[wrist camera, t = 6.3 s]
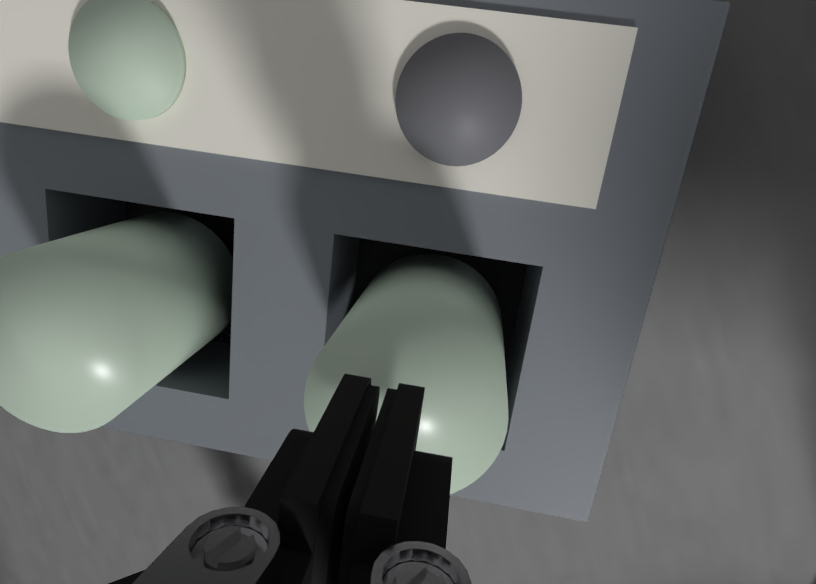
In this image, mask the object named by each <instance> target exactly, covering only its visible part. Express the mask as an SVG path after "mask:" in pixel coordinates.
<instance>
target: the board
mask: <svg viewBox="0 0 816 584" xmlns="http://www.w3.org/2000/svg"><path fill="white" fill-rule="evenodd" d="M730 5H731V2H725V1H716V0H0V256H1V255H4V254H7V253H11V252H14V251H18V250H21V249H25V248H28V247H32V246H35V245H39V244H43V243H46V242H50V241H53V240H57V239H60V238H64V237H67V236H71V235H74V234H78V233H82V232H85V231H89V230H92V229H96V228H99V227H103V226H106V225H110V224H113V223H117V222H121V221H124V220H127V207H126V201H127V202H133V203H140V204H146V205H153V206H159V207H165V208H172V209H178V210H184V211H191V212H197V213H204V214H210V215H216V216H223V217H229V218H235V220H234V251H233V283H232V314H231V344H230V343H224V342H219V341H213V340H211V341H210V342H208V343H207V344H206V345H205V346H203V347H202V348H201V349H200V350H198V351H197V352H196V353H195V354H193V355H192V356H191V357H190V358H188V359H187V360H186V361H185V362H183V363H182V364H181V365H180V366H178V367H177V368H176V369H175V370H173V371H172V372H171V373H170V374H168V375H167V376H166V377H165V378H163V379H162V380H161V381H160V382H158V383H157V384H156V385H155V386H153V387H152V388H151V389H150V390H149V391H147V392H146V393H145V394H144V395H142V396H141V397H140V398H139V399H137V400H136V401H135V402H134V403H132V404H131V405H130V406H129V407H127V408H126V409H125V410H124V411H122V412H121V413H120V414H119V415H117V416H116V417H115V418H114V419H112V420H111V421H109V422H108V423H106V424H105V425H103V426H100V427H103V428H108V429H113V430H118V431H123V432H129V433H134V434H139V435H144V436H149V437H154V438H159V439H164V440H169V441H175V442H180V443H185V444H190V445H195V446H200V447H205V448H210V449H215V450H220V451H226V452H231V453H236V454H241V455H246V456H251V457H256V458H261V459H266V460H273V458H274V457H275V455H276V453H277V452H278V450H279V448H280V447H281V445H282V443H283V442H284V440H285V438H286V437H287V435H288V433H289V432H290V431H291V429H299V430H305V431H309V429H308V425H307V422H306V418H305V411H304V391H305V385H306V380H307V377H308V374H309V371H310V369H311V367H312V365H313V363H314V361H315V359H316V358H317V356H318V355H319V353H320V352H321V350H322V349H323V347H324V346H325V345H326V343H327V342H328V340H329V339H330V338H331V336H332V335H333V333H334V332H335V331H336V329H337V328H338V326H339V325H340V324H341V322H342V321H343V320H344V318H345V317H346V315H347V314H348V313H349V311H350V310H351V308H352V307H353V306H354V296H355V286H356V277H357V267H358V257H359V248H360V238H363V239H370V240H376V241H382V242H389V243H395V244H401V245H408V246H414V247H421V248H427V249H433V250H440V251H446V252H452V253H459V254H465V255H472V256H478V257H484V258H491V259H497V260H503V261H510V262H516V263H523V264H527V268H526V273H525V278H524V283H523V288H522V293H521V297H520V302H519V307H518V312H517V317H516V322H515V327H514V332H513V337H512V342H511V347H510V352H509V357H508V362H507V367H506V383H507V397H508V427H507V433H506V437H505V440H504V444H503V446H502V448H501V450H500V452H499V454H498V456H497V457H496V459H495V461H494V462H493V464H492V465H491V466H490V467H489V468H488V470H487V471H486V472H485V473H484V474H483V475H482V476H480V477H479V478H478V479H477V480H476V481H475V482H473V483H472V484H470V485H468V486H467V487H465V488H463V489H461V490H459V491H457V492H455V493H453V494H450V496H455V497H460V498H466V499H471V500H476V501H481V502H486V503H491V504H496V505H501V506H506V507H511V508H517V509H522V510H527V511H532V512H537V513H542V514H547V515H552V516H557V517H563V518H568V519H573V520H578V521H583V522H588V519H589V515H590V511H591V508H592V504H593V501H594V497H595V493H596V490H597V486H598V483H599V479H600V475H601V472H602V468H603V464H604V461H605V457H606V454H607V450H608V446H609V443H610V439H611V435H612V432H613V428H614V425H615V421H616V417H617V414H618V410H619V407H620V403H621V399H622V396H623V392H624V388H625V385H626V381H627V378H628V374H629V370H630V367H631V363H632V360H633V356H634V352H635V349H636V345H637V341H638V338H639V334H640V331H641V327H642V323H643V320H644V316H645V312H646V309H647V305H648V302H649V298H650V294H651V291H652V287H653V284H654V280H655V276H656V273H657V269H658V265H659V262H660V258H661V255H662V251H663V247H664V244H665V240H666V236H667V233H668V229H669V226H670V222H671V218H672V215H673V211H674V208H675V204H676V200H677V197H678V193H679V189H680V186H681V182H682V179H683V175H684V171H685V168H686V164H687V160H688V157H689V153H690V150H691V146H692V142H693V139H694V135H695V132H696V128H697V124H698V121H699V117H700V113H701V110H702V106H703V103H704V99H705V95H706V92H707V88H708V84H709V81H710V77H711V74H712V70H713V66H714V63H715V59H716V56H717V52H718V48H719V45H720V41H721V37H722V34H723V30H724V27H725V23H726V19H727V16H728V12H729V8H730ZM0 407H1V408H3V407H2V406H0Z"/></svg>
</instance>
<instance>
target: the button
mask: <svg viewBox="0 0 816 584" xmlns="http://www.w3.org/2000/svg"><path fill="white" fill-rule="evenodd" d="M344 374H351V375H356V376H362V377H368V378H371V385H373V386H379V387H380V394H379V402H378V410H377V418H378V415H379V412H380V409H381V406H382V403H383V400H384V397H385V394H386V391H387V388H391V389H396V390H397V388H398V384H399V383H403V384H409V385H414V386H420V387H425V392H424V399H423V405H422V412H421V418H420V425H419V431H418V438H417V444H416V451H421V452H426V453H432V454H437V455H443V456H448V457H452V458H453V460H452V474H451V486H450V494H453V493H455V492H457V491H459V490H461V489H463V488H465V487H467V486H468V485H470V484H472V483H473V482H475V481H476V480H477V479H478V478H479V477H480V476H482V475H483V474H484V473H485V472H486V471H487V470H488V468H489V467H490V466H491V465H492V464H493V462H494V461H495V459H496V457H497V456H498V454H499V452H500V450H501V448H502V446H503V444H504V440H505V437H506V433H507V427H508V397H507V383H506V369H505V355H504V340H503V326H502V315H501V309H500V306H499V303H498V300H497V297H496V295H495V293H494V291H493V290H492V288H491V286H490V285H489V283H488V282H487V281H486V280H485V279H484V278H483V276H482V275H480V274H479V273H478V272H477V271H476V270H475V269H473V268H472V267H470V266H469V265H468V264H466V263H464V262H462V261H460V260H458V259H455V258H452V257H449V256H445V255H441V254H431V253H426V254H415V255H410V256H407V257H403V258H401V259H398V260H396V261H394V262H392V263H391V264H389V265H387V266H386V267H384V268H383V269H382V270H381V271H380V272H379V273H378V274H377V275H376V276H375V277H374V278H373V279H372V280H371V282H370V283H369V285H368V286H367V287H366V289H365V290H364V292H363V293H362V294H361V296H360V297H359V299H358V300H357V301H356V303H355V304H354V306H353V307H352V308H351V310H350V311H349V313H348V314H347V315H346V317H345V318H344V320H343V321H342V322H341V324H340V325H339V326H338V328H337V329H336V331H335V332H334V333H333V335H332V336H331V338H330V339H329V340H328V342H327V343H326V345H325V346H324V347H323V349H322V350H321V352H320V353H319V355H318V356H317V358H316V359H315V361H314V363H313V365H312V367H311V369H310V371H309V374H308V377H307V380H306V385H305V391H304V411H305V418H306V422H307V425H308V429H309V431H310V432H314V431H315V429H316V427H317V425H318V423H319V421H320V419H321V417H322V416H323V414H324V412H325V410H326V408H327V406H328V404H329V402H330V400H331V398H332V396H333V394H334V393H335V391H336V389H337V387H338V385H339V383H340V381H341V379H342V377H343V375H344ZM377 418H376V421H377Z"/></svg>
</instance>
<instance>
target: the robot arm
mask: <svg viewBox="0 0 816 584" xmlns="http://www.w3.org/2000/svg"><path fill="white" fill-rule="evenodd" d="M424 392H425V387H420V386H414V385H409V384H403V383H399V384H398V388H397V390H396V389H391V388H387V391H386V394H385V397H384V400H383V403H382V406H381V409H380V412H379V415H378V418H377V410H378V402H379V394H380V387H379V386H373V385H371V378H368V377H362V376H356V375H351V374H344V375H343V377H342V379H341V381H340V383H339V385H338V387H337V389H336V391H335V393H334V394H333V396H332V398H331V400H330V402H329V404H328V406H327V408H326V410H325V412H324V414H323V416H322V417H321V419H320V421H319V423H318V425H317V427H316V429H315V431H314V432H310V431H305V430H299V429H291V431H290V432H289V433H288V435H287V437H286V438H285V440H284V442H283V443H282V445H281V447H280V448H279V450H278V452H277V453H276V455H275V457H274V458H273V460H272V462H271V463H270V465H269V467H268V468H267V470H266V472H265V473H264V475H263V477H262V478H261V480H260V482H259V483H258V485H257V487H256V488H255V490H254V492H253V493H252V495H251V497H250V498H249V500H248V502H247V503H246V505H245V507H226V508H221V509H217V510H213V511H210V512H208V513H206V514H204V515H202V516H200V517H198V518H197V519H195V520H194V521H193V522H192V523H190V524H189V525H188V526H187V527H186V528H185V529H184V530H183V531H182V532H181V533H180V534H179V535H178V536H177V537H176V538H175V539H174V540H173V541H172V543H171V544H170V545H169V546H168V547H167V548H166V549H165V550H164V551H163V552H162V553H161V554H160V555H159V556H158V557H157V558H156V559H155V560H154V561H153V562H152V563H151V565H150V566H149V567H148V568H147V569H146V570H143V571H141V572H138V573H135V574H133V575H130V576H127V577H125V578H122V579H119V580H117V581H114V582H112V583H109V584H472V583H471V580H470V577H469V574H468V571H467V569H466V568H465V567H464V565H463V564H462V563H461V561H460V560H459V559H458V558H457V557H455V556H454V555H453V554H452V553H450V552H449V551H448V550H446V536H447V524H448V511H449V499H450V486H451V474H452V460H453V458H452V457H448V456H443V455H437V454H432V453H426V452H421V451H416V444H417V438H418V431H419V425H420V418H421V412H422V405H423V399H424ZM376 418H377V421H376Z"/></svg>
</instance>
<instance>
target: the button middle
mask: <svg viewBox="0 0 816 584" xmlns="http://www.w3.org/2000/svg"><path fill="white" fill-rule="evenodd" d="M232 283H233V258H232V256H231V254H230V252H229V250H228V249H227V247H226V246H225V244H224V243H223V242H222V240H221V239H220V238H219V237H218V236H217V235H216V234H215V233H214V232H213V231H212V230H210V229H209V228H208V227H207V226H205V225H204V224H202V223H201V222H199V221H197V220H195V219H193V218H191V217H188V216H186V215H183V214H178V213H174V212H154V213H149V214H145V215H142V216H138V217H135V218H131V219H128V220H124V221H121V222H117V223H113V224H110V225H106V226H103V227H99V228H96V229H92V230H89V231H85V232H82V233H78V234H74V235H71V236H67V237H64V238H60V239H57V240H53V241H50V242H46V243H43V244H39V245H35V246H32V247H28V248H25V249H21V250H18V251H14V252H11V253H7V254H4V255H1V256H0V406H2V407H3V408H4V409H5V410H7V411H8V412H9V413H11V414H13V415H14V416H16V417H17V418H19V419H21V420H23V421H25V422H27V423H29V424H31V425H34V426H36V427H39V428H42V429H46V430H49V431H54V432H61V433H78V432H85V431H89V430H93V429H96V428H98V427H100V426H103V425H105V424H106V423H108V422H109V421H111V420H112V419H114V418H115V417H116V416H117V415H119V414H120V413H121V412H122V411H124V410H125V409H126V408H127V407H129V406H130V405H131V404H132V403H134V402H135V401H136V400H137V399H139V398H140V397H141V396H142V395H144V394H145V393H146V392H147V391H149V390H150V389H151V388H152V387H153V386H155V385H156V384H157V383H158V382H160V381H161V380H162V379H163V378H165V377H166V376H167V375H168V374H170V373H171V372H172V371H173V370H175V369H176V368H177V367H178V366H180V365H181V364H182V363H183V362H185V361H186V360H187V359H188V358H190V357H191V356H192V355H193V354H195V353H196V352H197V351H198V350H200V349H201V348H202V347H203V346H205V345H206V344H207V343H208V342H210V341H211V340H212V339H213V338H214V337H216V336H217V335H218V334H219V333H221V332H222V331H223V330H224V329H225V328H226V327H227V325H228V324H229V323H230V322H231V314H232Z"/></svg>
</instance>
